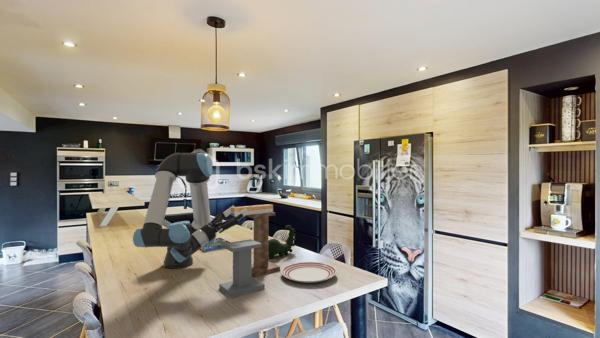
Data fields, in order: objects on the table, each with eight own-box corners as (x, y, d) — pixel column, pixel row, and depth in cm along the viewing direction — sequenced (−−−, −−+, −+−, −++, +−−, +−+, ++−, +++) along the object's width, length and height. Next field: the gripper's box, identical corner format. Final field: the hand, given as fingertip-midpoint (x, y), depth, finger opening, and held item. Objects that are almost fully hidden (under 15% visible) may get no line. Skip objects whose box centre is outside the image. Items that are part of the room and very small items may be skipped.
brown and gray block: (234, 216, 149) (234, 208, 149) (231, 215, 153) (231, 207, 152) (272, 212, 163) (272, 204, 163) (268, 211, 166) (268, 204, 166)
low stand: (231, 297, 127) (231, 249, 127) (219, 288, 136) (219, 243, 136) (264, 288, 137) (264, 243, 137) (251, 280, 146) (251, 238, 146)
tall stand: (253, 276, 151) (253, 215, 151) (241, 270, 161) (241, 213, 161) (280, 270, 161) (280, 213, 161) (267, 264, 170) (268, 210, 170)
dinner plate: (296, 291, 134) (296, 283, 134) (272, 272, 159) (272, 265, 159) (347, 281, 147) (347, 274, 147) (318, 264, 171) (318, 258, 171)
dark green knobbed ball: (287, 253, 199) (257, 258, 181) (289, 223, 200) (259, 225, 182) (297, 256, 193) (268, 261, 174) (299, 225, 194) (270, 227, 176)
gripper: (199, 236, 153) (233, 212, 164) (218, 247, 133) (256, 218, 144) (191, 224, 151) (226, 200, 162) (210, 233, 131) (249, 205, 142)
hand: (240, 208), depth 153 cm, fingers open, 13 cm apart
